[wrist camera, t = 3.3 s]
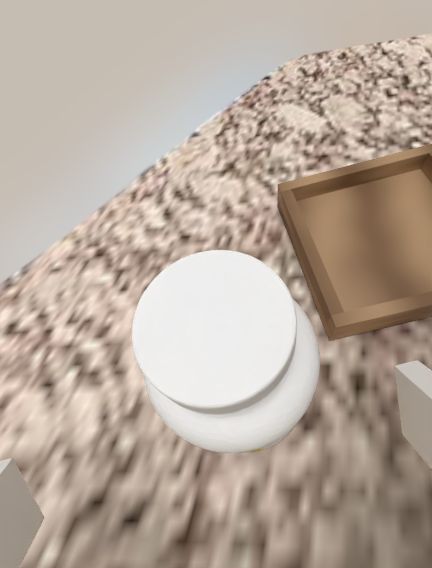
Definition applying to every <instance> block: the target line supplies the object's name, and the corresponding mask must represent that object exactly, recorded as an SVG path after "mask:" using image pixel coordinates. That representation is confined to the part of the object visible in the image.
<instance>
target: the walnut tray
mask: <svg viewBox="0 0 432 568" xmlns="http://www.w3.org/2000/svg"><path fill="white" fill-rule="evenodd" d="M278 209H279V211H280V214H281V217H282V219H283V222H284V224H285V227H286V229H287V232H288V235H289V237H290V240H291V242H292V245H293V248H294V250H295V253H296V255H297V258H298V261H299V263H300V266H301V268H302V271H303V274H304V276H305V279H306V281H307V284H308V287H309V289H310V292H311V294H312V297H313V300H314V302H315V305H316V307H317V310H318V312H319V315H320V318H321V320H322V323H323V325H324V328H325V331H326V333H327V336H328V338H329V341H330V340H334V339H339V338H343V337H347V336H351V335H356V334H360V333H364V332H369V331H373V330H377V329H381V328H386V327H390V326H394V325H398V324H403V323H407V322H411V321H415V320H420V319H424V318H428V317H432V144H430V145H426V146H422V147H418V148H414V149H411V150H407V151H403V152H399V153H395V154H392V155H388V156H384V157H380V158H376V159H373V160H369V161H365V162H361V163H357V164H353V165H350V166H346V167H342V168H338V169H334V170H331V171H327V172H323V173H319V174H315V175H312V176H308V177H304V178H300V179H296V180H293V181H289V182H285V183H281V184H278Z"/></svg>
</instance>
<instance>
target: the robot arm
mask: <svg viewBox="0 0 432 568" xmlns="http://www.w3.org/2000/svg"><path fill="white" fill-rule="evenodd" d="M394 368H395V377H396V386H397V394H398V403H399V412H400V421H401V429H402V435H403V436H404V437H405V438H406V439H407V441H408V442H409V443H410V444H411V445H412V447H413V448H414V449H415V450H416V451H417V453H418V454H419V455H420V456H421V458H422V459H423V460H424V461H425V462H426V464H427V465H428V466H429V467H430V468H431V470H432V371H431V370H430V369H429V368H427V367H426V366H425V365H423V364H422V363H421V362H419V361H418V360H416V361H412V362H408V363H403V364H399V365H395V366H394ZM43 519H44V516H43V514H42V512H41V510H40V508H39V506H38V505H37V503H36V501H35V499H34V497H33V495H32V493H31V492H30V490H29V488H28V486H27V484H26V482H25V480H24V478H23V477H22V475H21V473H20V471H19V469H18V467H17V465H16V464H15V462H14V460H13V458H10V459H6V460H2V461H0V568H19V567H20V565H21V563H22V561H23V559H24V557H25V555H26V553H27V551H28V549H29V547H30V545H31V543H32V541H33V539H34V537H35V535H36V533H37V531H38V529H39V527H40V525H41V523H42V521H43Z"/></svg>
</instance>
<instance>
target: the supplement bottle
mask: <svg viewBox="0 0 432 568" xmlns="http://www.w3.org/2000/svg"><path fill="white" fill-rule="evenodd" d="M132 343H133V349H134V355H135V357H136V360H137V363H138V365H139V367H140V369H141V371H142V372H143V374H144V380H145V385H146V389H147V392H148V395H149V397H150V400H151V402H152V404H153V406H154V408H155V410H156V412H157V413H158V415H159V416H160V418H161V419H162V420H163V422H164V423H165V424H166V425H167V426H168V427H169V428H170V429H171V430H172V431H173V432H174V433H176V434H177V435H178V436H180V437H181V438H182V439H184V440H186V441H187V442H189V443H191V444H193V445H195V446H198V447H200V448H203V449H206V450H210V451H215V452H222V453H242V452H254V451H261V450H264V449H267V448H269V447H271V446H274V445H276V444H277V443H279V442H280V441H282V440H283V439H284V438H285V437H286V436H287V435H288V434H289V433H290V432H291V431H292V430H293V428H294V427H295V425H296V424H297V423H298V422H299V420H300V419H301V418H302V416H303V415H304V414H305V412H306V410H307V409H308V407H309V405H310V403H311V401H312V399H313V396H314V393H315V390H316V387H317V383H318V379H319V371H320V353H319V345H318V341H317V338H316V335H315V332H314V329H313V326H312V324H311V322H310V320H309V319H308V317H307V315H306V314H305V312H304V311H303V310H302V309H301V307H300V306H299V305H298V304H297V303H296V301H295V300H294V299H292V296H291V294H290V292H289V290H288V288H287V286H286V285H285V283H284V282H283V281H282V279H281V278H280V277H279V276H278V275H277V274H276V273H275V272H274V271H273V270H272V269H271V268H270V267H268V266H267V265H266V264H264V263H263V262H261V261H260V260H258V259H256V258H254V257H252V256H249V255H246V254H243V253H240V252H235V251H229V250H211V251H204V252H199V253H195V254H192V255H189V256H187V257H184V258H182V259H180V260H178V261H176V262H174V263H173V264H171V265H170V266H168V267H167V268H166V269H164V270H163V271H162V272H161V273H160V274H159V275H158V276H157V277H156V278H155V279H154V280H153V281H152V282H151V283H150V285H149V286H148V287H147V289H146V290H145V292H144V293H143V295H142V297H141V299H140V300H139V303H138V305H137V308H136V311H135V315H134V319H133V325H132Z"/></svg>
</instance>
